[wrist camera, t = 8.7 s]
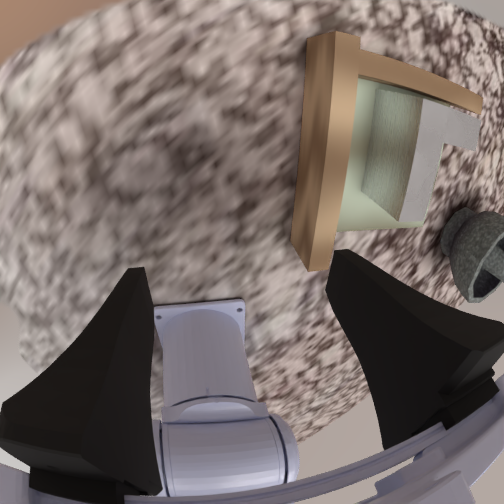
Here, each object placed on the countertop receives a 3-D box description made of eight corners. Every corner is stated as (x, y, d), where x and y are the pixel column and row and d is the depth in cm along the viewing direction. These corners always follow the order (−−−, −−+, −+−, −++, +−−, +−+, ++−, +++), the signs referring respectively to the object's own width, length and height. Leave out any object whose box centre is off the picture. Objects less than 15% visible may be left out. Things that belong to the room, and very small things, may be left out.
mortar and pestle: (415, 261, 27) (484, 341, 18) (454, 183, 23) (544, 249, 13) (463, 269, 31) (517, 329, 21) (494, 208, 26) (559, 262, 16)
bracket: (375, 88, 16) (423, 98, 12) (435, 105, 17) (481, 120, 13) (360, 191, 21) (398, 222, 17) (418, 192, 22) (456, 220, 18)
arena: (417, 231, 25) (442, 254, 22) (290, 240, 22) (308, 271, 19) (449, 80, 17) (483, 88, 13) (307, 38, 14) (335, 31, 11)
